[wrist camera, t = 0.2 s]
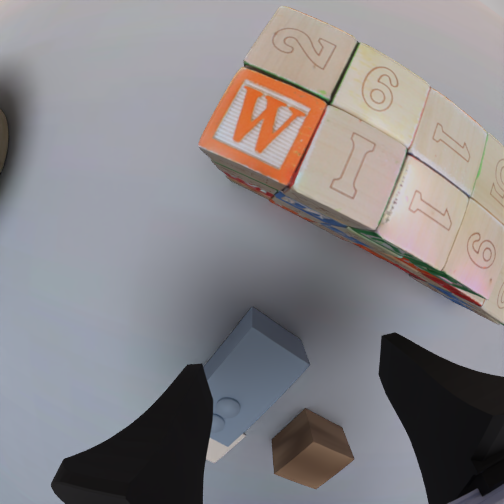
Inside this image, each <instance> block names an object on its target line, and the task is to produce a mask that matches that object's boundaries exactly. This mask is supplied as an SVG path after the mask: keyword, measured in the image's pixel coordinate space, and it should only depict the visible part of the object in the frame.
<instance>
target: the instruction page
mask: <svg viewBox="0 0 504 504" xmlns="http://www.w3.org/2000/svg"><path fill="white" fill-rule="evenodd" d="M245 436H246V434H244V433H243V434H242V435H241V436H240V437H239V438H237V439H236V440H235V441H234V442H233V443H232V444H231V445H230V446H229V447H227V446H225V445H223V444H221V443H219V442H217V441H215V440H213V439H211V438H210V439H209V444H208V450H207V455H206V459H207V460H209V461H211V462H213V463H216V462H217V461H218V460H219V459H220V458H221V457H223V456H224V455H225V454H226V453H227V452H228V451H230V450H231V449H232V448H233V447H234V446H235V445H236V444H237V443H239V442H240V441H241V440H242V439H243V438H244V437H245Z"/></svg>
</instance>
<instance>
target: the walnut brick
mask: <svg viewBox="0 0 504 504" xmlns="http://www.w3.org/2000/svg"><path fill="white" fill-rule="evenodd" d="M272 452H273V465H274V474H276V475H278V476H281V477H283V478H286V479H289V480H291V481H294V482H297V483H299V484H302V485H305V486H308V487H311V488H314V489H317V488H318V487H320V486H321V485H322V484H324V483H325V482H326V481H328V480H329V479H330V478H332V477H333V476H334V475H336V474H337V473H338V472H339V471H341V470H342V469H343V468H344V467H346V466H347V465H348V464H349V463H351V462H352V461H353V460H354V457H353V454H352V451H351V449H350V446H349V444H348V441H347V439H346V436H345V433H344V431H343V428H342V427H340V426H338V425H336V424H334V423H332V422H330V421H329V420H327V419H325V418H323V417H321V416H319V415H317V414H315V413H313V412H311V411H310V410H308V409H306V408H305V409H304V410H303V411H302V412H301V413H300V414H299V415H298V416H297V417H296V418H295V419H293V420H292V421H291V422H290V423H289V424H288V425H287V426H286V427H285V428H284V429H283V430H282V431H281V432H279V433H278V434H277V435H276V436H275V437H274V438H273V439H272Z"/></svg>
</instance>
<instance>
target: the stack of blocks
mask: <svg viewBox="0 0 504 504" xmlns="http://www.w3.org/2000/svg"><path fill="white" fill-rule="evenodd" d="M198 146H199V148H200V149H201V150H202V151H203V152H204V153H205V154H206V155H207V156H208V157H210V158H211V161H212V162H213V163H214V164H215V165H216V166H217V168H218V169H219V170H221V171H223V172H224V173H225V174H226V175H227V176H226V177H227V178H228V179H229V180H230V181H232V182H234V183H236V184H238V185H240V186H242V187H244V188H246V189H248V190H250V191H252V192H254V193H256V194H258V195H260V196H262V197H264V198H266V199H268V200H269V201H270V202H272V203H274V204H276V205H278V206H280V207H282V208H284V209H286V210H288V211H290V212H292V213H294V214H296V215H298V216H299V217H301V218H303V219H305V220H307V221H309V222H311V223H313V224H315V225H316V226H318V227H320V228H322V229H324V230H326V231H328V232H329V233H331V234H333V235H335V236H337V237H339V238H341V239H343V240H345V241H348V242H352V243H353V244H355V245H357V246H359V247H361V248H363V249H365V250H366V251H368V252H370V253H372V254H373V255H375V256H377V257H379V258H382V259H384V260H386V261H387V262H389V263H391V264H393V265H395V266H396V267H398V268H400V269H402V270H403V271H405V272H407V273H409V275H410V277H412V278H414V279H415V280H417V281H419V282H420V283H422V284H424V285H425V286H427V287H429V288H430V289H432V290H434V291H436V292H438V293H440V294H441V295H443V296H445V297H446V298H448V299H450V300H451V301H453V302H455V303H457V304H459V305H461V306H463V307H465V308H467V309H469V310H471V311H473V312H475V313H477V314H478V315H480V316H482V317H484V318H486V319H488V320H490V321H492V322H494V323H496V324H502V325H504V146H503V145H502V144H501V143H500V142H499V141H498V140H497V139H496V138H495V137H494V136H492V135H491V134H490V133H488V132H486V131H485V130H484V129H483V128H482V127H481V126H480V125H479V124H478V123H477V122H476V121H475V120H474V119H473V118H471V117H470V116H469V115H468V114H467V113H465V112H464V111H463V110H461V109H460V108H459V107H457V106H456V105H455V104H454V103H453V102H452V101H450V100H449V99H448V98H447V97H445V96H444V95H442V94H441V93H440V92H438V91H436V90H434V89H433V88H431V87H430V85H429V83H427V82H426V81H425V80H423V79H422V78H421V77H419V76H418V75H416V74H414V73H413V72H411V71H410V70H408V69H407V68H405V67H404V66H402V65H401V64H399V63H398V62H396V61H394V60H393V59H391V58H389V57H388V56H386V55H384V54H383V53H381V52H379V51H377V50H375V49H374V48H372V47H370V46H368V45H367V44H364V43H358V41H357V40H356V38H355V37H353V36H352V35H350V34H348V33H346V32H344V31H342V30H340V29H338V28H336V27H334V26H332V25H329V24H327V23H325V22H323V21H321V20H318V19H316V18H314V17H312V16H309V15H307V14H304V13H302V12H299V11H297V10H294V9H292V8H289V7H285V6H281V7H279V8H278V10H277V11H276V13H275V14H274V15H273V17H272V18H271V20H270V21H269V23H268V24H267V26H266V27H265V28H264V30H263V31H262V33H261V34H260V36H259V37H258V39H257V40H256V42H255V43H254V45H253V46H252V48H251V49H250V51H249V52H248V54H247V55H246V57H245V59H244V67H241V68H240V69H239V70H238V72H237V73H236V75H235V76H234V78H233V79H232V81H231V83H230V84H229V86H228V88H227V90H226V91H225V93H224V95H223V97H222V98H221V100H220V102H219V104H218V106H217V107H216V109H215V111H214V113H213V115H212V117H211V119H210V120H209V122H208V124H207V126H206V128H205V130H204V132H203V134H202V136H201V138H200V141H199V143H198Z"/></svg>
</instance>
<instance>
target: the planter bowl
mask: <svg viewBox="0 0 504 504" xmlns="http://www.w3.org/2000/svg"><path fill="white" fill-rule="evenodd" d="M7 148H8V124H7V120H6V117H5V115H4V113H3V112H2V110H1V109H0V173H1V171H2V168H3V165H4V162H5V158H6V153H7Z"/></svg>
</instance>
